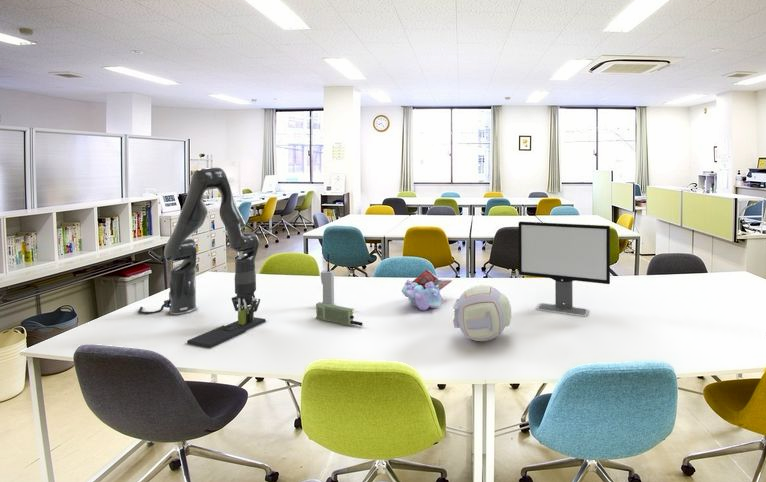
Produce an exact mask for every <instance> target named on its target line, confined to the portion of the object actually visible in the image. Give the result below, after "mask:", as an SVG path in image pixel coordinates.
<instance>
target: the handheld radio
mask: <svg viewBox="0 0 766 482" xmlns="http://www.w3.org/2000/svg"><path fill="white" fill-rule="evenodd" d="M315 309H316V310H315V312H316V313H315V314H316V319H318V320H322V321H327V322H331V323H336V324H340V325H346V326H351V327H352V326H355V325H356V326H360V327H362V326H363V322H361V321H357V320H354V318H355V316H354V310H355V309H354V308H352V307H351V308H350V307H345V306H341V305H335V304H334V305H331V304H326V303H322V301H321V302H316V303H315Z"/></svg>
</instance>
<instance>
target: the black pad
mask: <svg viewBox="0 0 766 482" xmlns="http://www.w3.org/2000/svg"><path fill="white" fill-rule="evenodd" d="M249 311H250V308H249ZM246 314H247V313H246V309H244V310H241V311H237V320H236V321H233V322H231V323H229V324H226V325H225V326H230V327H229V328H226V329H224V331H230V332H231V331H233V330H236V329H238V328H242V329H245V332H246V331H248V330H250V329H253V328H255V327H258V326H259V325H261V324H263V323H266V318H261V317H255V312H253V320H252V322H250V323H247V322H246Z"/></svg>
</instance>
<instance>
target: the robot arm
mask: <svg viewBox="0 0 766 482" xmlns="http://www.w3.org/2000/svg"><path fill="white" fill-rule="evenodd" d="M189 182H190V183H189V186H188V190H187V195H186V198H185V199H184V200H185V201H184V203H183V206H182V208H181V211H180V213H179V216H178V219H177V221H176V224H175V227H174V229H173V231H172V232H171V235H170V236H169V238H168V240H167V242H166V244H165V246H164V250H163V257H164V259H165V260H166V261H167V262H179V261H182V262H181V263H180V264H178V265H176V266H174V267H173V268H171V269H170V270H169V291H168V299H166V300H164V301H163V304H162V305H161V306H160V309H158V310H154V311H142V310H143V309H144V307H143V306H139V309H138V314H143V315H150V314H151V315H152V314H158V313H160V312H162V311H163V310H164V308H168V309H169V314H170V315H171V316H172V315H173V316H178V315H184V314H189V313H192V312H194V311H196V310H197V289H196V286H197V285H196V283H197V282H196V280H197V279H196V268H197V255H198V254H197V251H198V249H197V243H196V241H195V239H193V238H188V237H190V236H192V234H194V233H196V232H197V231H198V230H199V229H200V228H202V226H203V225H204V223H205V221H206V218H207V216H208V208H207V206H206V203H205V202H204V200H203V196H204V194H205V192H206V191H211V190H218V193H219V194H220V199H221V200H220V205H219V217H220V221H222V224H223V225H224V227H225V230H226V233H227V234H226V235H227V240H228V244H229V247H230V249H231V250H233V252H236V253H242V254H241V255H239V256H238V257H236V259H235V260H234V294H235V296H232V297H231V302H232V305H233V308H234V311H235V312H238V311H241V310H244V309H246V313H247V314H246V322H247V323H250V322H252V320H253V312H254V313H256V312H257V311H258V309H259V306H260V303H261V299H260V298H256V295H255V292H256V291H257V274H256V258H257V254H258V250H259V246H260V239H259V237H258V235H257V234H256V233H254V232H246V233H242V230H243V229H244V228H245V227H246V225H247V224H246V221H245V219H244V217H243V216H242V214H241V212H240V210H239V208H238V206H237V202H236V200H235V197H234V193H233V191H232V187H231V185H230V181H229V179H228V176H227V173H226V172H225V170H224V169H223V168H222V167H205V168H198V169H195V170H194V172H193V174H192V175H191V178H190V181H189ZM249 308H250V311H249Z"/></svg>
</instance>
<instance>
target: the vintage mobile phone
mask: <svg viewBox="0 0 766 482" xmlns="http://www.w3.org/2000/svg"><path fill="white" fill-rule="evenodd" d="M326 264H327V266H326V267H327V270H322V271H321V272H320V279H321V285H322V301H321V303H326V304H331V305H335V270H331V269H330V254H329V253H328V254H327V263H326Z"/></svg>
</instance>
